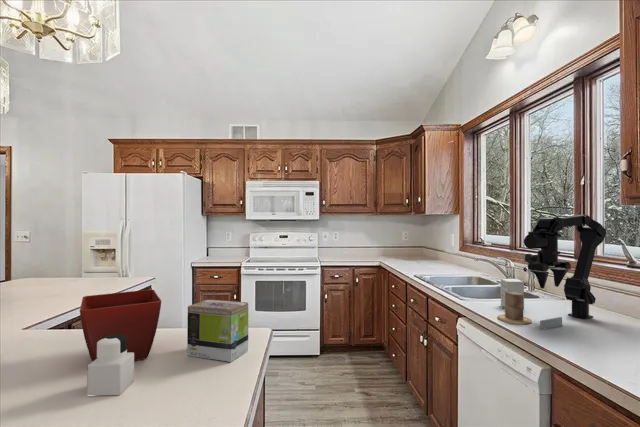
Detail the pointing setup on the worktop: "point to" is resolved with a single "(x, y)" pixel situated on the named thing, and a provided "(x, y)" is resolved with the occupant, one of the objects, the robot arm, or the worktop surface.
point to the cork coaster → (504, 319)
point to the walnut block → (514, 305)
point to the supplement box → (511, 288)
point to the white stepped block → (111, 367)
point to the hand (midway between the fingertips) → (549, 287)
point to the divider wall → (551, 323)
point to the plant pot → (121, 320)
